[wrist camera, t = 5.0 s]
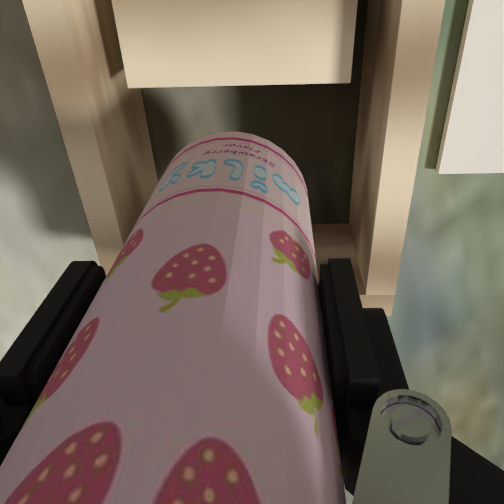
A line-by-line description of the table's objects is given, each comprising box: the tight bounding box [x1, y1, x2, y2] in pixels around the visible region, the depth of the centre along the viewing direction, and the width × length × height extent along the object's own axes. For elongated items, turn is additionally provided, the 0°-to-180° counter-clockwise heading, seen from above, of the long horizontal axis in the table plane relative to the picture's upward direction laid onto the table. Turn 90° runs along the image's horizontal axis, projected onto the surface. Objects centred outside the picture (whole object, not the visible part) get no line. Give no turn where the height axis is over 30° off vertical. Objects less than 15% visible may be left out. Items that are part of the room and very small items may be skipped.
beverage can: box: [0, 131, 346, 504], centre depth 11 cm, size 6×6×15 cm
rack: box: [22, 0, 445, 316], centre depth 17 cm, size 19×12×6 cm, turn 3°
